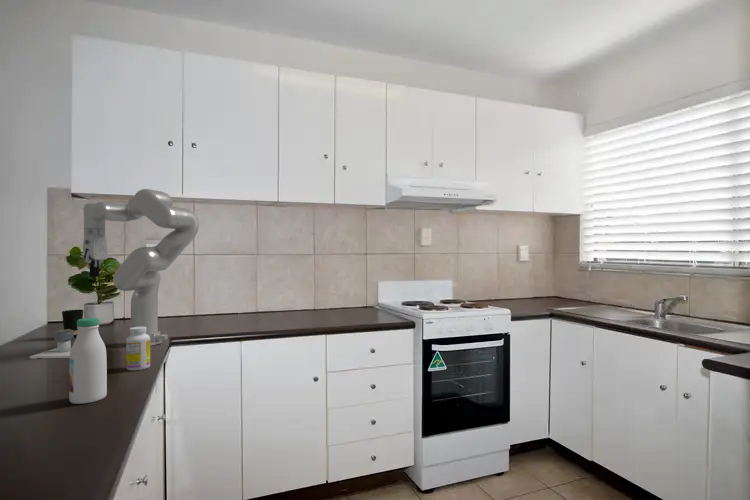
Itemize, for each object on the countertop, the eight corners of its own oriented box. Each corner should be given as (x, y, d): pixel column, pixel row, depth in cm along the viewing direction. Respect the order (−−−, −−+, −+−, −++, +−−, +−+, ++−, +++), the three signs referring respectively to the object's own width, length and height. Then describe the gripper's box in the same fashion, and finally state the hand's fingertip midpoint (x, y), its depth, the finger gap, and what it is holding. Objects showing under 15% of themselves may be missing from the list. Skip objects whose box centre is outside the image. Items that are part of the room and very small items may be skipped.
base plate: (95, 348, 161) (95, 335, 161) (71, 357, 147) (71, 343, 147) (57, 349, 160) (57, 336, 161) (29, 358, 147) (29, 344, 147)
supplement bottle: (145, 364, 137) (145, 325, 138) (154, 367, 133) (153, 327, 133) (122, 368, 132) (122, 328, 132) (131, 372, 128) (131, 330, 128)
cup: (58, 340, 178) (58, 312, 178) (66, 337, 186) (66, 310, 186) (79, 339, 180) (79, 311, 180) (86, 336, 188) (86, 309, 188)
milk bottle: (113, 393, 108) (113, 316, 108) (94, 404, 101) (94, 321, 101) (82, 394, 108) (82, 316, 108) (61, 405, 100) (61, 321, 100)
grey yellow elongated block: (64, 343, 151) (63, 329, 151) (50, 342, 152) (50, 328, 152) (91, 336, 163) (91, 323, 163) (78, 336, 164) (78, 323, 164)
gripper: (92, 232, 169) (93, 277, 169) (113, 233, 184) (114, 275, 184) (73, 232, 169) (73, 277, 168) (96, 234, 183) (96, 276, 183)
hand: (94, 276), depth 176 cm, fingers closed
